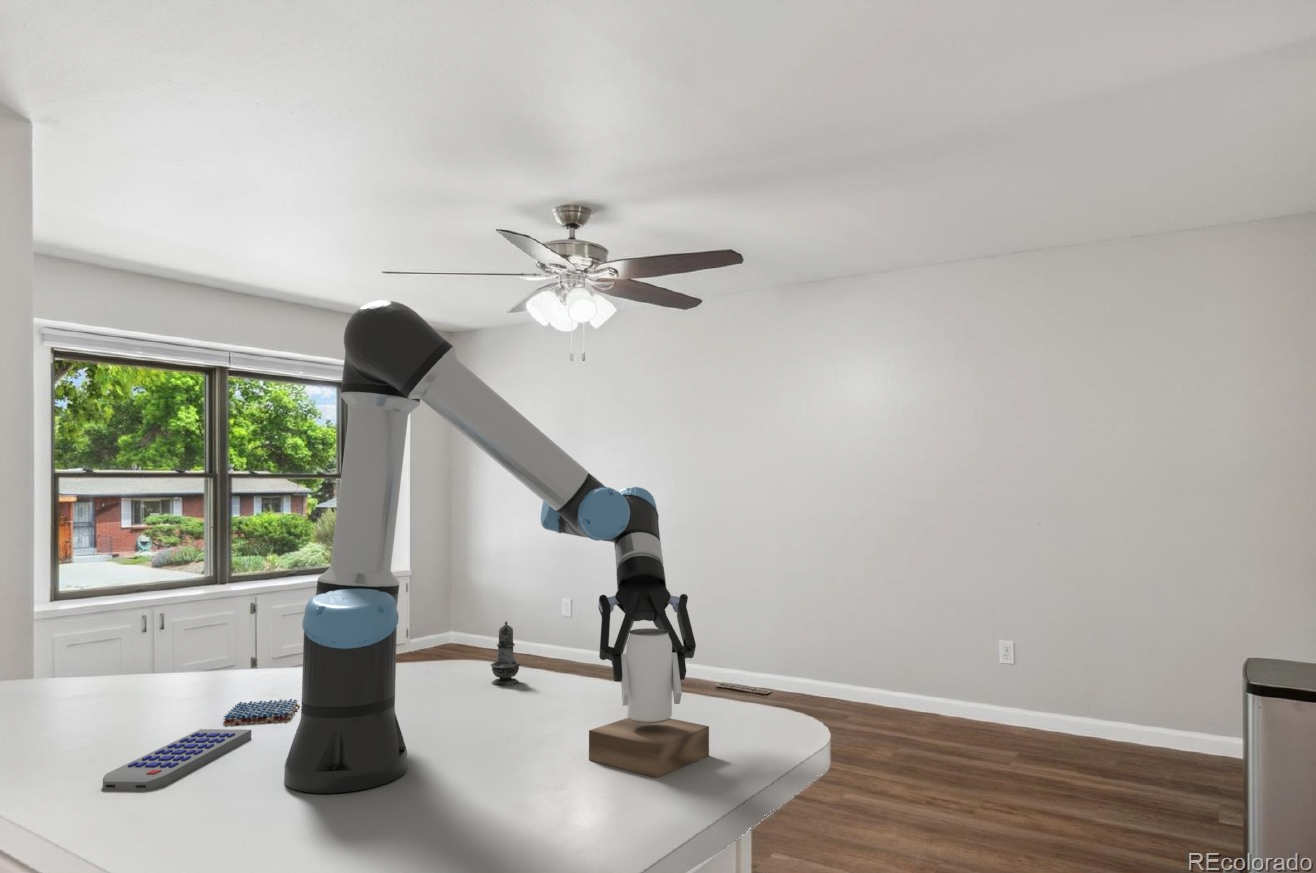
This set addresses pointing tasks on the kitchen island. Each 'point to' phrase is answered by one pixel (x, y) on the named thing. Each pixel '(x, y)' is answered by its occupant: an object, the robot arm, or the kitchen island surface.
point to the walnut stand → (649, 745)
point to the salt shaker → (505, 659)
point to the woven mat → (261, 712)
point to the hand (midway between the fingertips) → (652, 699)
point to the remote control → (174, 759)
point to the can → (649, 675)
